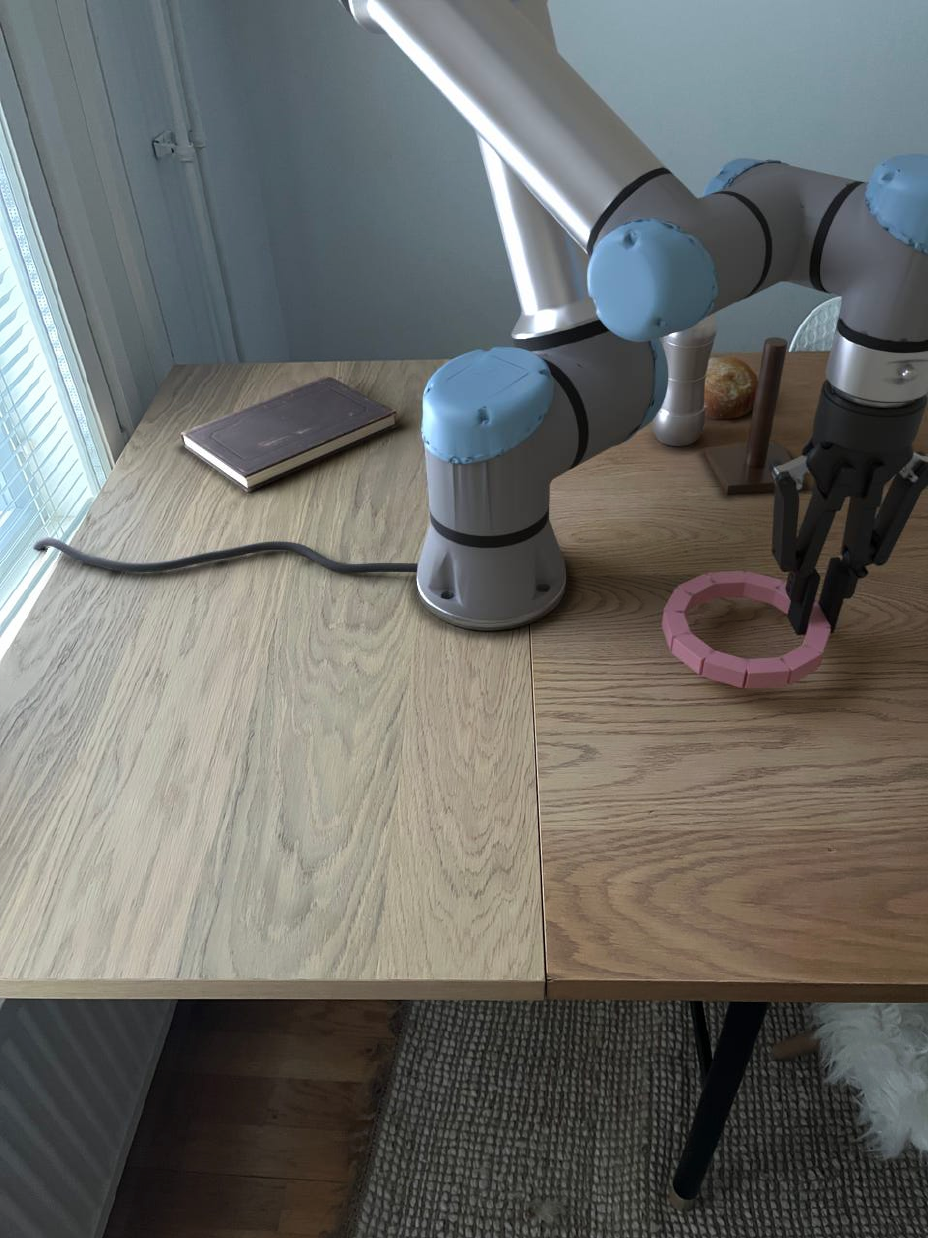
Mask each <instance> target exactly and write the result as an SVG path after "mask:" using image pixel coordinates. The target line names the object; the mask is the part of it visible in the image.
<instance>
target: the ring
mask: <svg viewBox="0 0 928 1238" xmlns="http://www.w3.org/2000/svg"><path fill="white" fill-rule="evenodd" d="M786 584H787V581H784V580H783V579H780V578H776V577H772V576H768V575H764V574H759V573H756V572H752V571H746V572H745V571H744V570H731V571H714V572H713V571H712V572H707V573H703V574H700V575H699V576H696V577H694V578H692V579H690V580H688V581H686V582H684V583H681V584H679V585H677V586H676V588H674V590H673V591H672V594H671V595H670V597H669V599H668V601H667V603H666V605H665V606H664V608H663V613H662V621H661V628H662V631H663V634H664V637H665V640H666V643H667V646H668V650H669V651H670V652H671V654H672V655H673V656H674V657H676V658H677V659H678V660H680V661H681V662H682V663H684V664H685V665H686V667H688V668H690V670H692V671H693V672H695V673H696V674H697V675H701V677H703V678H707V679H709V680H713V681H717V682H720V683H723V684H727V685H729V686H734V687H736V688H740V689H742V688H743V687H744V688H745V689H760V688H761V689H763V688H779V687H781V688H782V687H786V686H787V685H788V686H791V685H792V684H794V683H796V682H799V680H801V679H803V678H804V677H806V676H808V675H810V674H812V673H814V672H815V671H817V670H818V669H819V668H820V666H821V663H822V660H823V657H824V654H825V651H826V649H827V645H828V642H829V638H830V635H831V633H830V631H831V629H830V627H831V626H830V624H829V622H828V621H827V619H826V617H825V615H824V613H823V611H822V609H821V608H820V606H819V604H818V601H816V600H815V601H814V604H813V608H812V612H811V615H810V619H809V623H808V626H807V630H806V634H805V635H802V636H803V637H804V639H803V643H802V644H801V645H799V646H798V647H796V648H794V649H792V650H790V651H789V652H787V653H785V654H783V655H781V656H778V657H762V658H744V657H741V656H737V655H733V654H729V653H725V652H721V651H718V650H715V649H713V648H712V647H711V646H709V645H708V644H707V643H706V642H704V641H703V640H701V639H700V638H699V637H698V636H696V635H695V634H694V633H692V631H691V629H690V626H689V623H688V620H687V618H688V615H689V614H690V612H691V610H692V609H694V608H696V607H699V606H701V605H703V604H705V603H707V602H709V601H711V600H713V599H727V598H746V599H751V600H754V601H758V602H762V603H766V604H769V605H773V606H774V607H776V609H778V610H780V611H782V612H783V613H785V614H786V615H787V614H788V610H789V606H790V602H791V601H790V599H789V597H788V595H787V593H786V590H785V587H786Z"/></svg>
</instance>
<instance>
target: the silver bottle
mask: <svg viewBox="0 0 928 1238" xmlns="http://www.w3.org/2000/svg"><path fill="white" fill-rule="evenodd" d="M717 332H718V322H717V317H716V315H715V313H714V314H712V315H710V316H708V317H706V318H704V319H703V320H702V321H700V322H699V323H697V324H696V325H695V326H693V327H692V328H689V329H686V330H684V331H680V332H676V333H673V334H670V335H667V336H664V337H661V344H662V346H663V348H664V351H665V354H666V358H667V363H668V374H669V375H668V388H667V393H666V397H665V400H664V402H663V405H662V407H661V409H660V410H659V412H658V413H657V415H656V416H655V418H654V419H653V420H652V421H651V425H652V432H653V435H654V436H655V438H656V439H657V440H658V441H659V442H661V443H662V444H664V445H668V446H673V447H683V446H689V445H691V444H694V443H695V442H696V441H697V440H699V438H700V437H701V436H702V434H703V431H704V428H705V424H706V417H705V406H704V395H705V379H706V374H707V372H706V371H707V369H708V363H709V358H711V355H712V351H713V347H714V344H715V340H716V336H717Z"/></svg>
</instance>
